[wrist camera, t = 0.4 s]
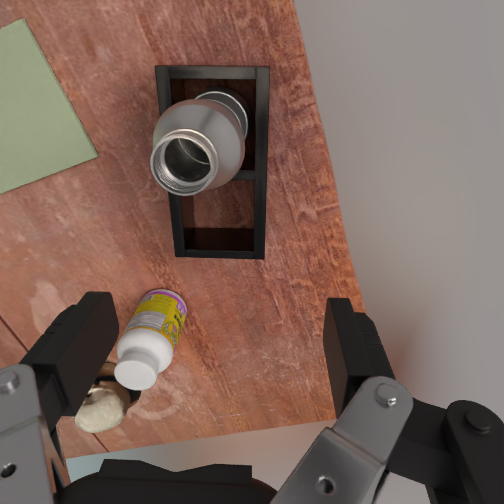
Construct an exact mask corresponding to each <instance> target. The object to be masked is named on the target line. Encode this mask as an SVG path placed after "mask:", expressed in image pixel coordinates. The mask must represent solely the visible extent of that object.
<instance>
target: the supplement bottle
mask: <svg viewBox="0 0 504 504" xmlns="http://www.w3.org/2000/svg"><path fill="white" fill-rule="evenodd" d="M186 314H187V308H186V304H185V302H184V301H183V299H182V298H181V297H180V296H179V295H178V294H176V293H174V292H172V291H170V290H165V289H157V290H153V291H150V292H149V293H147V294H146V295H145V296H144V297H143V298H142V300H141V302H140V303H139V305H138V307H137V309H136V311H135V313H134V315H133V317H132V318H131V320H130V322H129V324H128V326H127V328H126V330H125V331H124V333H123V335H122V337H121V339H120V341H119V343H118V346H117V355H118V358H119V360H118V363H117V365H116V367H115V370H114V375H115V378H116V380H117V381H118V382H119V383H120V384H121V385H123V386H124V387H126V388H129V389H132V390H145V389H148V388H150V387H152V386H153V385H154V383H155V381H156V379H157V376H158V373H160V372H162V371H164V370H165V369H166V368H167V367H168V366H169V364H170V363H171V360H172V357H173V354H174V351H175V348H176V345H177V342H178V340H179V336H180V333H181V330H182V327H183V324H184V321H185V318H186Z"/></svg>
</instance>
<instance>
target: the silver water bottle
mask: <svg viewBox="0 0 504 504" xmlns="http://www.w3.org/2000/svg"><path fill="white" fill-rule="evenodd" d="M251 126H252V117H251V113H250V109H249V107H248V105H247V103H246V102H245V100H244V99H243V98H242V97H241V96H240V95H239V94H238V93H236V92H235V91H233V90H231V89H228V88H225V87H219V86H217V87H209V88H206V89H204V90H202V91H200V92H199V93H197V94H196V95H195V96H194V97H193V98H192V99H189V100H185V101H181V102H178V103H176V104H174V105H173V106H171V107H169V108H168V109H167V110H166V111H165V112H164V113H163V114H162V115H161V117H160V118H159V120H158V122H157V124H156V126H155V129H154V134H153V152H152V155H151V160H150V166H151V170H152V173H153V176H154V178H155V179H156V181H157V182H158V183H159V184H160V185H161V187H163V188H164V189H165V190H167V191H169V192H171V193H173V194H176V195H182V196H189V195H194V194H196V193H199V192H201V191H204V190H210V189H214V188H218V187H220V186H222V185H224V184H226V183H227V182H229V181H230V180H231V179H232V178H233V177H234V176H235V175H236V174H237V173H238V171H239V169H240V167H241V166H242V163H243V160H244V155H245V141H246V140H247V138H248V136H249V134H250V131H251Z"/></svg>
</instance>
